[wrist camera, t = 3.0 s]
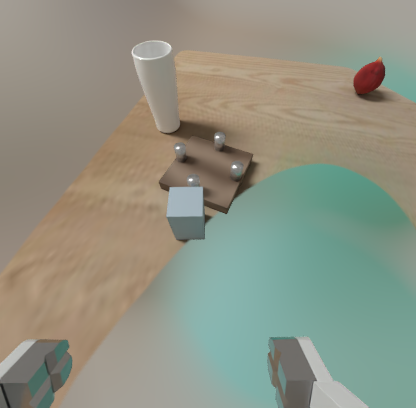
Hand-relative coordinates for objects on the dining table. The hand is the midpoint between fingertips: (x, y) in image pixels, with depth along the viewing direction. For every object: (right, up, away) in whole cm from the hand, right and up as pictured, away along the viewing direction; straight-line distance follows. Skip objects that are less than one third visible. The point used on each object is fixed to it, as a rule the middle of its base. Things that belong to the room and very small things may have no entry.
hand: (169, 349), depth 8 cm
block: (-1, +2, +25) cm, 25 cm away
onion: (+40, +34, +43) cm, 67 cm away
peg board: (+2, +12, +30) cm, 32 cm away
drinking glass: (-7, +23, +38) cm, 45 cm away
